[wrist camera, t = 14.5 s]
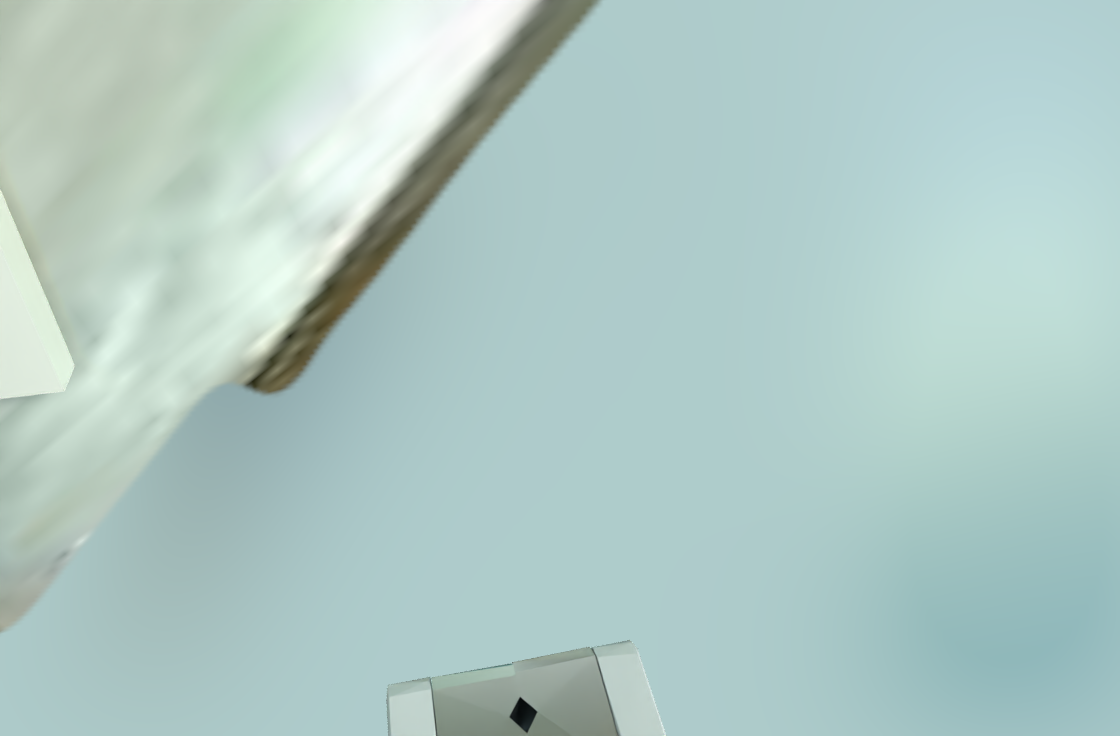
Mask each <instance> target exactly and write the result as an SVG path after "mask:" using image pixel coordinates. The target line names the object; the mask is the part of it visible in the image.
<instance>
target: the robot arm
mask: <svg viewBox="0 0 1120 736" xmlns="http://www.w3.org/2000/svg"><path fill="white" fill-rule="evenodd" d="M431 679H432V683H431ZM386 701H387V718H388V736H666V733H665V730H664V727H663V724H662V721H661V718H660V715H659V712H658V709H657V706H656V703H655V700H654V697H653V694H652V691H651V688H650V685H649V682H648V679H647V676H646V673H645V670H644V667H643V664H642V661H641V658H640V655H639V652H638V649H637V648H636V647H635V645H634V644H633V643H632V642H631V641H630V640H627V641H622V642H618V643H613V644H607V645H602V646H597V647H592V648H590V647H586V648H581V649H576V650H571V651H567V652H561V653H557V654H552V655H547V656H542V657H537V658H532V659H527V660H522V661H517V662H512V664H505V665H499V666H494V667H488V668H482V669H477V670H471V671H465V672H460V673H454V674H449V675H443V676H438V677H432V678H430V677H427V678H422V679H417V680H412V681H406V682H401V683H396V684H391V685H388V689H387V700H386Z"/></svg>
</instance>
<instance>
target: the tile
mask: <svg viewBox="0 0 1120 736" xmlns="http://www.w3.org/2000/svg"><path fill="white" fill-rule="evenodd" d="M74 366H75V365H74V362H73V360H72V358H71V355H70V353H69V351H68V348H67V346H66V344H65V341H64V339H63V336H62V334H61V332H60V329H59V327H58V325H57V322H56V320H55V317H54V315H53V313H52V310H51V308H50V306H49V303H48V301H47V299H46V296H45V294H44V291H43V289H42V287H41V284H40V282H39V280H38V277H37V275H36V272H35V270H34V268H33V265H32V263H31V261H30V258H29V256H28V253H27V251H26V249H25V246H24V244H23V242H22V239H21V237H20V235H19V232H18V230H17V227H16V225H15V223H14V220H13V218H12V216H11V213H10V211H9V208H8V206H7V204H6V201H5V199H4V197H3V194H2V192H1V190H0V399H5V398H13V397H22V396H30V395H38V394H47V393H55V392H63V391H65V389H66V386H67V384H68V381H69V379H70V376H71V374H72V371H73V369H74Z"/></svg>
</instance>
